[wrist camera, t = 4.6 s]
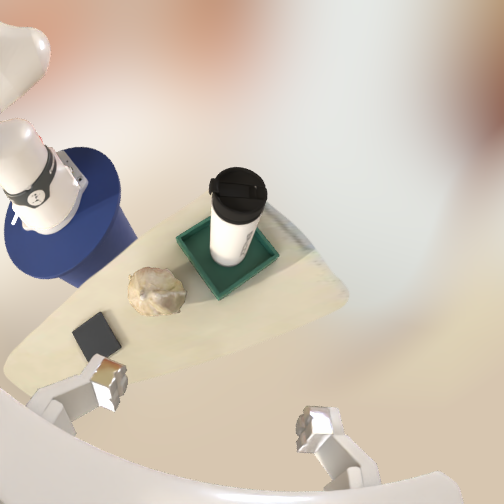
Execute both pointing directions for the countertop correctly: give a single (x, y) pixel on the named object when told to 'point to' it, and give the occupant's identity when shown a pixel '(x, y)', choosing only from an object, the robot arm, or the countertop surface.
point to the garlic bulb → (155, 292)
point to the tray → (218, 276)
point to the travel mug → (234, 213)
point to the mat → (96, 337)
